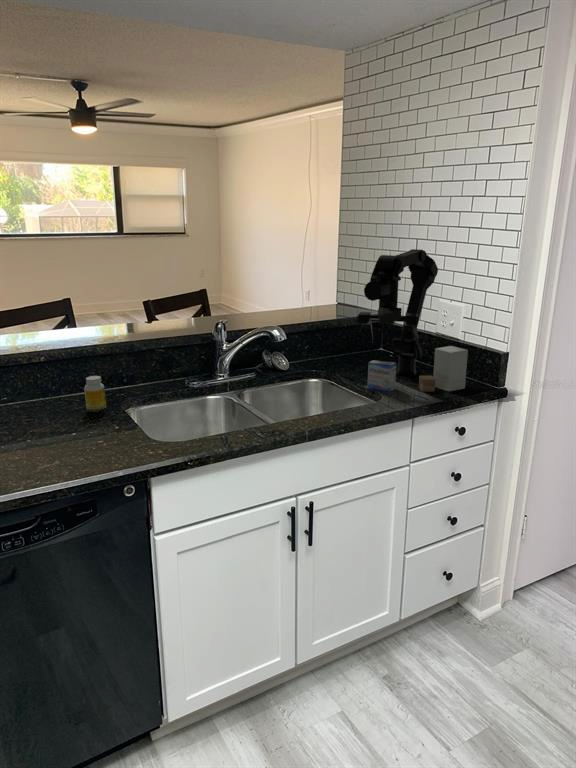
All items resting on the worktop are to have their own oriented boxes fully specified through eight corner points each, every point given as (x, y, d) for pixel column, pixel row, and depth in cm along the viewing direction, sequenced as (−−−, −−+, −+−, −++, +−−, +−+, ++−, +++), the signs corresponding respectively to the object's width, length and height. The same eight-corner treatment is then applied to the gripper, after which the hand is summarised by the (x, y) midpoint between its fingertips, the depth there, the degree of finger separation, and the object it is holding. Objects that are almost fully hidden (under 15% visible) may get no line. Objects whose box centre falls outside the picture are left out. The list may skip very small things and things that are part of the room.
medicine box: (366, 388, 180) (368, 362, 177) (371, 385, 183) (372, 359, 181) (391, 392, 176) (392, 365, 173) (395, 388, 180) (396, 362, 177)
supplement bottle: (85, 408, 162) (81, 376, 159) (104, 405, 164) (101, 374, 162) (88, 414, 157) (85, 381, 155) (108, 411, 160) (105, 378, 157)
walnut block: (418, 387, 180) (419, 375, 179) (431, 387, 180) (432, 375, 179) (421, 391, 176) (422, 379, 175) (434, 391, 176) (435, 379, 175)
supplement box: (465, 388, 179) (469, 349, 176) (448, 392, 176) (451, 352, 172) (449, 382, 186) (452, 345, 182) (431, 386, 182) (434, 347, 178)
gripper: (356, 299, 171) (355, 350, 176) (419, 301, 167) (416, 352, 172) (359, 294, 181) (358, 341, 186) (419, 295, 178) (416, 343, 182)
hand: (386, 345), depth 181 cm, fingers open, 9 cm apart
